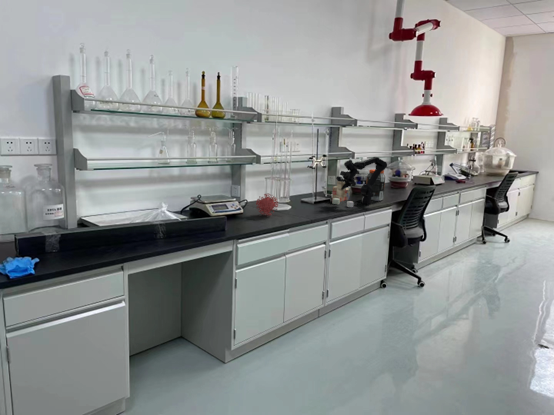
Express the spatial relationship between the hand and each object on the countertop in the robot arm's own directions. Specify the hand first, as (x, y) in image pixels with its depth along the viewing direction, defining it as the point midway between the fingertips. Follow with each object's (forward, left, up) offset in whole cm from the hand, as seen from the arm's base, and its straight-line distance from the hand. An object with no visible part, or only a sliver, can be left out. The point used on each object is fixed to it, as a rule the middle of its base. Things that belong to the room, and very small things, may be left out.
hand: (339, 188), depth 325 cm
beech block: (-1, -1, -7) cm, 7 cm away
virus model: (+54, +49, -14) cm, 74 cm away
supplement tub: (-36, -40, -14) cm, 56 cm away
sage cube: (+1, -10, -14) cm, 17 cm away
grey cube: (-9, +1, -14) cm, 16 cm away
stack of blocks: (-5, -27, -14) cm, 31 cm away
